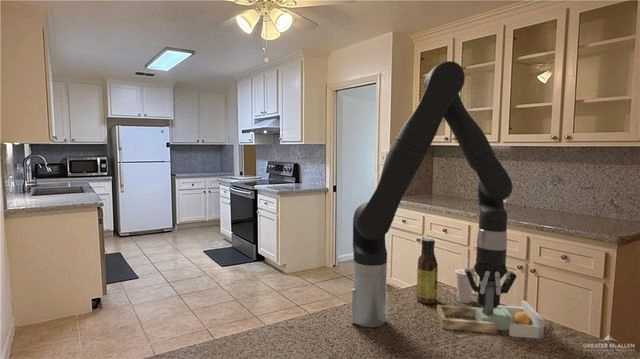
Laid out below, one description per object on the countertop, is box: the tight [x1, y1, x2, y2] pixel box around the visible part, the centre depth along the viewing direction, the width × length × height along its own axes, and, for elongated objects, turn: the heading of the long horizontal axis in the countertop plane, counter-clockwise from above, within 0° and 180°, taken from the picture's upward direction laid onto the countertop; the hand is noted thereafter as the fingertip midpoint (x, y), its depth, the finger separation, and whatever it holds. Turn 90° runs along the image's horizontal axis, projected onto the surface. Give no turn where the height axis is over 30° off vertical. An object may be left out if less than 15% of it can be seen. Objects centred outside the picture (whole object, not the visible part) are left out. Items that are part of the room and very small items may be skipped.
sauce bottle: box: [416, 238, 439, 305], centre depth 125 cm, size 7×6×20 cm
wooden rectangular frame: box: [436, 304, 498, 334], centre depth 111 cm, size 14×10×2 cm
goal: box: [495, 300, 545, 339], centre depth 108 cm, size 8×13×5 cm, turn 172°
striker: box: [474, 281, 515, 331], centre depth 109 cm, size 8×7×13 cm
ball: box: [513, 312, 530, 325], centre depth 108 cm, size 4×4×4 cm
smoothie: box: [454, 257, 477, 304], centre depth 125 cm, size 6×6×14 cm
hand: (488, 305), depth 109 cm, fingers closed on striker, 3 cm apart
